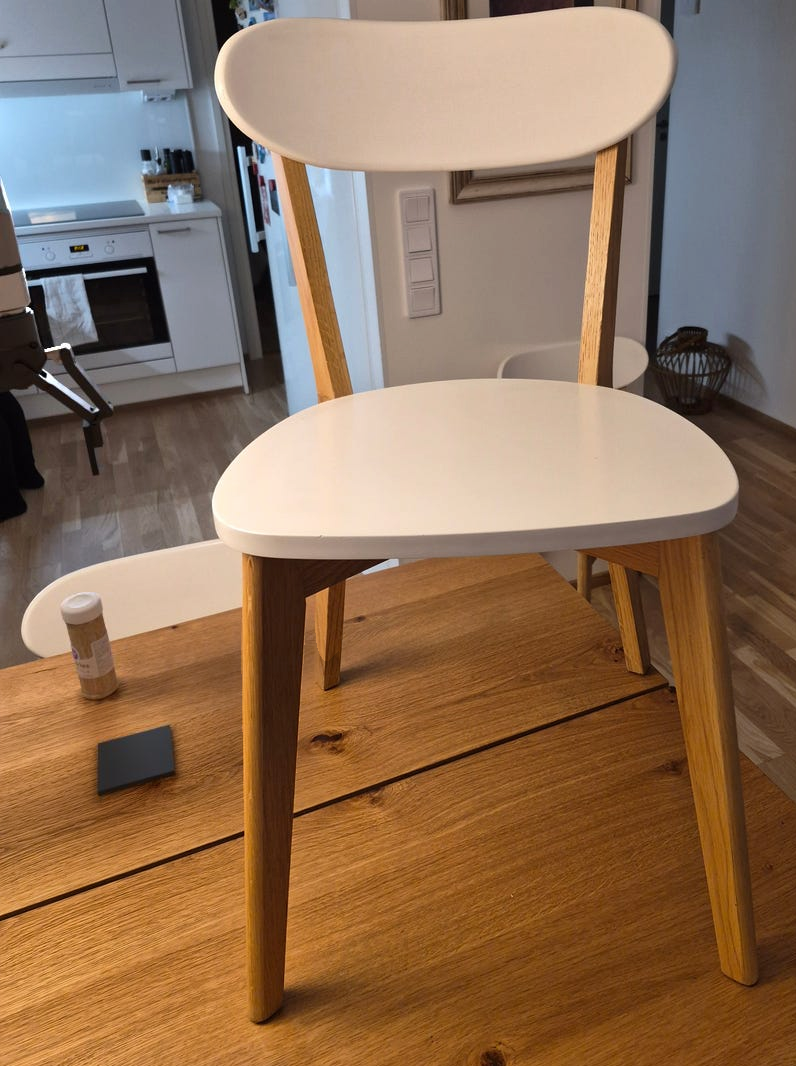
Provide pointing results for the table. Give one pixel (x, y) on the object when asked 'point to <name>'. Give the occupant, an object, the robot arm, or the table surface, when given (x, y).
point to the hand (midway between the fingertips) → (36, 481)
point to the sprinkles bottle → (90, 644)
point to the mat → (135, 759)
